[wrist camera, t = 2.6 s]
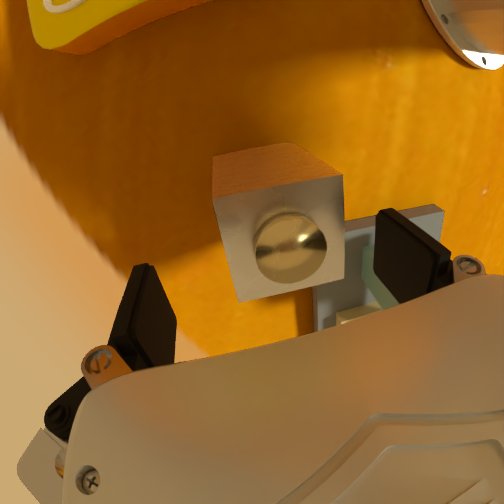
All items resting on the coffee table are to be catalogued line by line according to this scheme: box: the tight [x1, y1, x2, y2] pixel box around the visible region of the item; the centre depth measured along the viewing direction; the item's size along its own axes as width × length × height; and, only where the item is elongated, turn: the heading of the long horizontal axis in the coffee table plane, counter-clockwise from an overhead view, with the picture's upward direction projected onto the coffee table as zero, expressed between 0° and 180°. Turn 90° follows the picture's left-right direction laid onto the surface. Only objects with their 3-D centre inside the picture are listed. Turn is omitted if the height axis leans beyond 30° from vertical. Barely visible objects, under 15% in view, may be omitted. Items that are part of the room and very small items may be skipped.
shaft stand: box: [312, 204, 444, 332], centre depth 23 cm, size 24×12×8 cm, turn 10°
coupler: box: [212, 142, 345, 303], centre depth 14 cm, size 5×5×9 cm
